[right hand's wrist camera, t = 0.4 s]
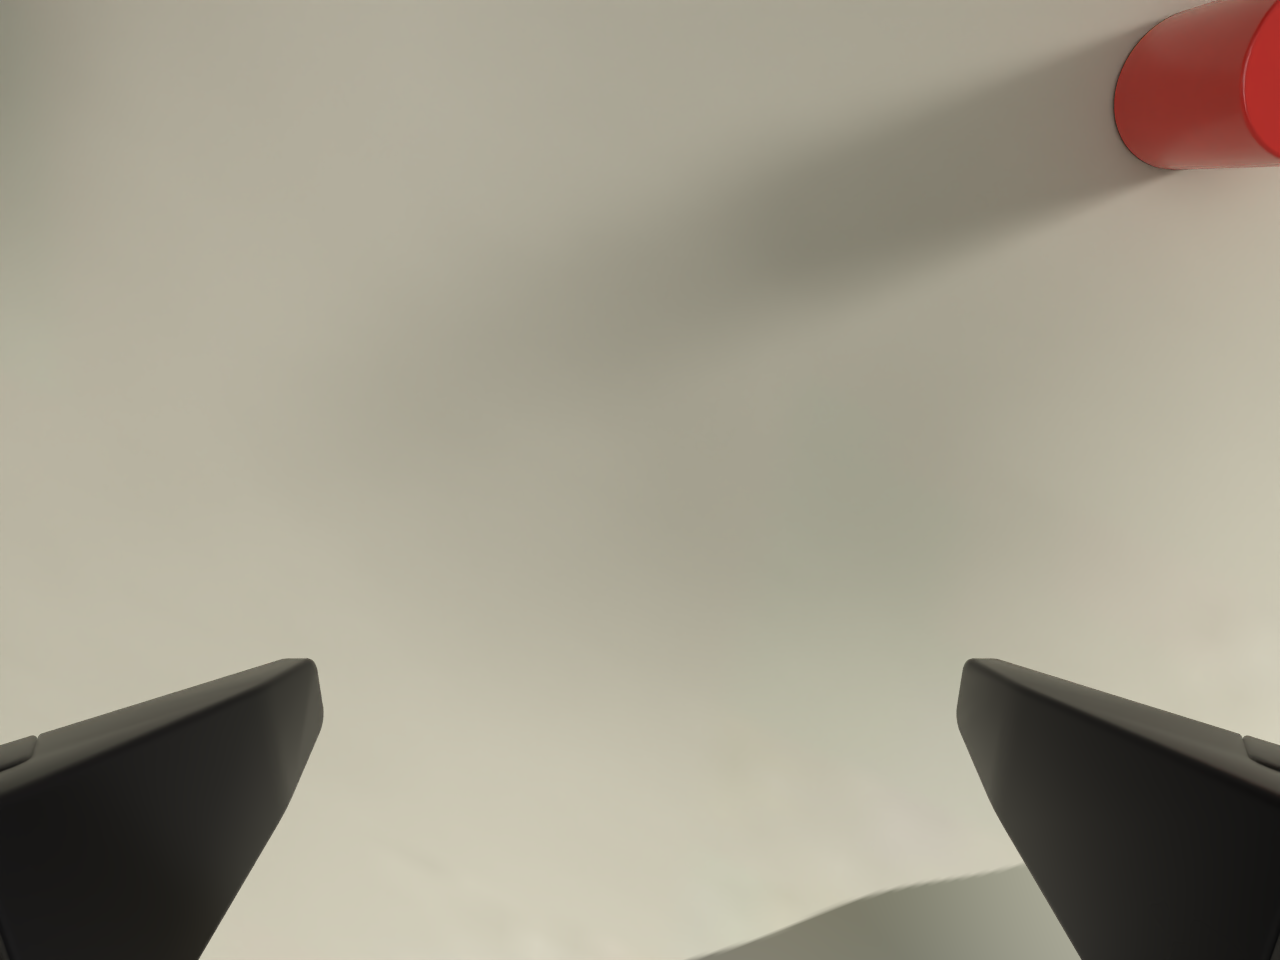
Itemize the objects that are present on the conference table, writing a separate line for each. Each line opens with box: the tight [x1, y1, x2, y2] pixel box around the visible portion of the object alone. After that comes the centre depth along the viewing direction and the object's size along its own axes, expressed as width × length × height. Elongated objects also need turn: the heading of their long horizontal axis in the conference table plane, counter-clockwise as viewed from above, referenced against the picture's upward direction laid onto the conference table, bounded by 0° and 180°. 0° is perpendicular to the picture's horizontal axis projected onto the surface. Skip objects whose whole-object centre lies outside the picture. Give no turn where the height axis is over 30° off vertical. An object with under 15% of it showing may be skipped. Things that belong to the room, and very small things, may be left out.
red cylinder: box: [1114, 0, 1280, 169], centre depth 18 cm, size 4×4×5 cm
